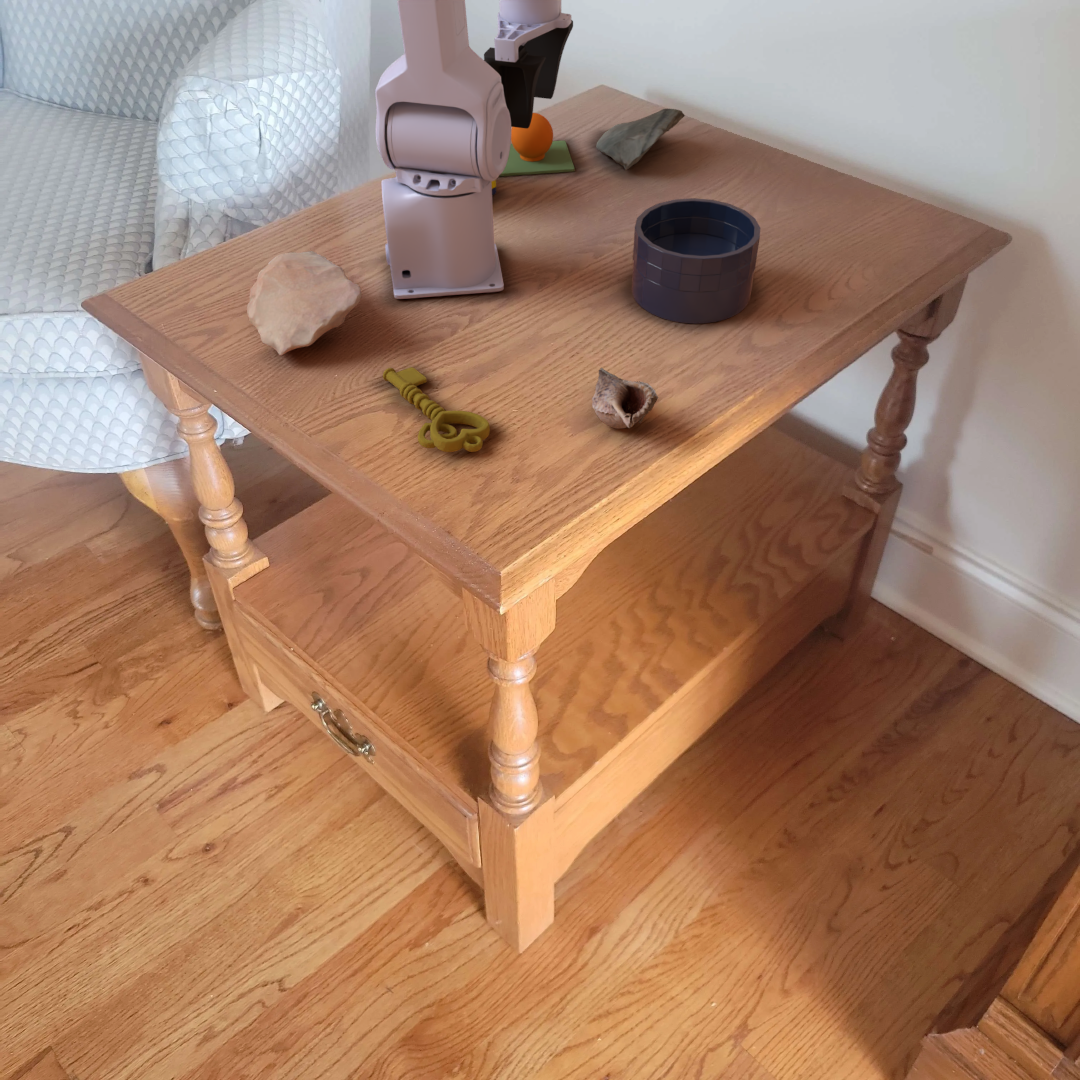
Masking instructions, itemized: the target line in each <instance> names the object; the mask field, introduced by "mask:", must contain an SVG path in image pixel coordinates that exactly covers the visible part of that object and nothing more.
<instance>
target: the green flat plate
mask: <svg viewBox="0 0 1080 1080" xmlns="http://www.w3.org/2000/svg"><path fill="white" fill-rule="evenodd" d="M572 159H573V158H572V157H571V154H570V151H569V148H568V145H567V142H566V139H565V140H553V141H552V145H551V147H550V148H549V150H548V151H547V152H546V153H545V157H544V158H543V159H542V160H539V161H534V162H530V161H525V160H522V159H521V158H520V154H519V153H518V152H517V151H516V150H515V148H514V147H513V144H512V143H511V145H510V152H509V157H508V161H507V164H506V167H505V169H504V170H503V172H502V173H501V174H500V175H499V176H498V178H499V177H514V176H527V175H542V174H557V173H559V174H560V173H571V172H576V171H575V169H576V168H575V165H574V162H573V160H572Z"/></svg>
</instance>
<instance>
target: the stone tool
mask: <svg viewBox="0 0 1080 1080" xmlns="http://www.w3.org/2000/svg"><path fill="white" fill-rule="evenodd" d="M362 295H363V291H362V289H361V286H360V285H359V284H357V283H355V282H353V281H352V280H350V279H349V278H348V277H347V276H346V273H345V270H344V269H343V267H341V266H339V265H338V264H335V263H333V261H331V260H330V259H327V257H326V256H324V255H321V254H319V253H317V252H316V251H313V250H308V251H303V252H294V251H292V252H285V253H281V254H277V255H276V256H274V257H273V258H272V259H271V260H270V261H269V262H268V264H267V265H266V266H265V267H263V268H262V269H261V270H259V272H258V274H257V279H256V281H255V282H254V283H253V285H252V286H251V287H250V289H249V302H248V303H247V305H246V314H247V316H248V321H249V323H250V325H251V326H252V327H255V328H256V330H257V333H258V334H259V337H260V341H261V342H262V344H263V345H266V346H268V347H271V348H272V349H274V350H275V351H276V352H277V354H278V355H279V356H284V355H285V354H287V353H288V352H291V351H293V350H296V349H300V348H304V347H310V346H311V345H313V344H314V343H315V342H316V341H317V340H319V339H320V337H322V336H323V335H324V334H326V333H327V332H329V331H331V330H332V329H334V328H339V327H340V326H341V325H343V324H344V323H345V319H346V316H347V315H348V314H350V313H351V311H352V310H353V309H354V308H356V307H357V305H358V304H359V303H360V301H361V299H362Z"/></svg>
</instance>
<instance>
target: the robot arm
mask: <svg viewBox="0 0 1080 1080" xmlns="http://www.w3.org/2000/svg"><path fill="white" fill-rule="evenodd" d="M396 2H397V10H398V17H399V25H400V31H401V39H402V45H403V50H404V51H403V52H404V53H403V54H402V55H400V56H399V57H398V58H396V60H395V61H393V62H392V63H391V64H390V65H389V66H387V68H386V69H384V71H383V72H382V74H381V75H380V78H379V80H378V82H377V85H376V87H375V91H374V92H375V93H374V95H375V106H376V118H375V142H376V148H377V150H378V154H379V156H380V158H381V159H382V161H383V163H384V164H385V166H386V167H387V168H388V169H390V170H394V171H395V177H390V178H384V179H381V184H380V185H381V197H382V199H381V200H382V209H383V218H384V226H385V236H386V242H387V243H385V245H384V246H385V258H386V265H387V266H390V274H391V281H392V288H393V289H392V290H393V297H394V298H395V299H396V300H407V299H420V298H433V297H445V296H447V297H448V296H457V295H471V294H482V293H483V294H484V293H497V292H502V291H504V289H505V284H504V278H503V273H502V268H501V263H500V257H499V252H498V248H497V243H495V227H494V225H495V224H494V207H493V195H492V183H491V181H494V180H496V181H497V179H498V178H499V177H498V176H499V175H500V174H501V173H502V172H503V170H504V169H505V167H506V164H507V161H508V157H509V152H510V145H511V144H512V141H511V129H512V127H518V128H526V129H527V128H529V126H530V124H531V120H532V114H533V113H534V104H535V98H538V99H547V100H552V98H553V97H554V93H555V90H556V86H557V80H558V74H559V71H560V66H561V60H562V56H563V54H564V53H563V52H564V50H565V46H566V44H567V42H568V39H569V36H570V34H571V33H572V30H573V28H574V20H573V19H572V14H570V13H564V12H562V0H498V9H499V10H498V13H497V35H496V36H495V38H494V40H493V41H494V47H489V48H488V49H487V50H486V51H485V52H484V54H483V58H482V57H481V56H480V55H479V54H477V53H476V52H475V51H474V50H473V49H472V48H471V46H470V41H469V40H470V39H469V27H468V19H467V8H466V0H396Z"/></svg>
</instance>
